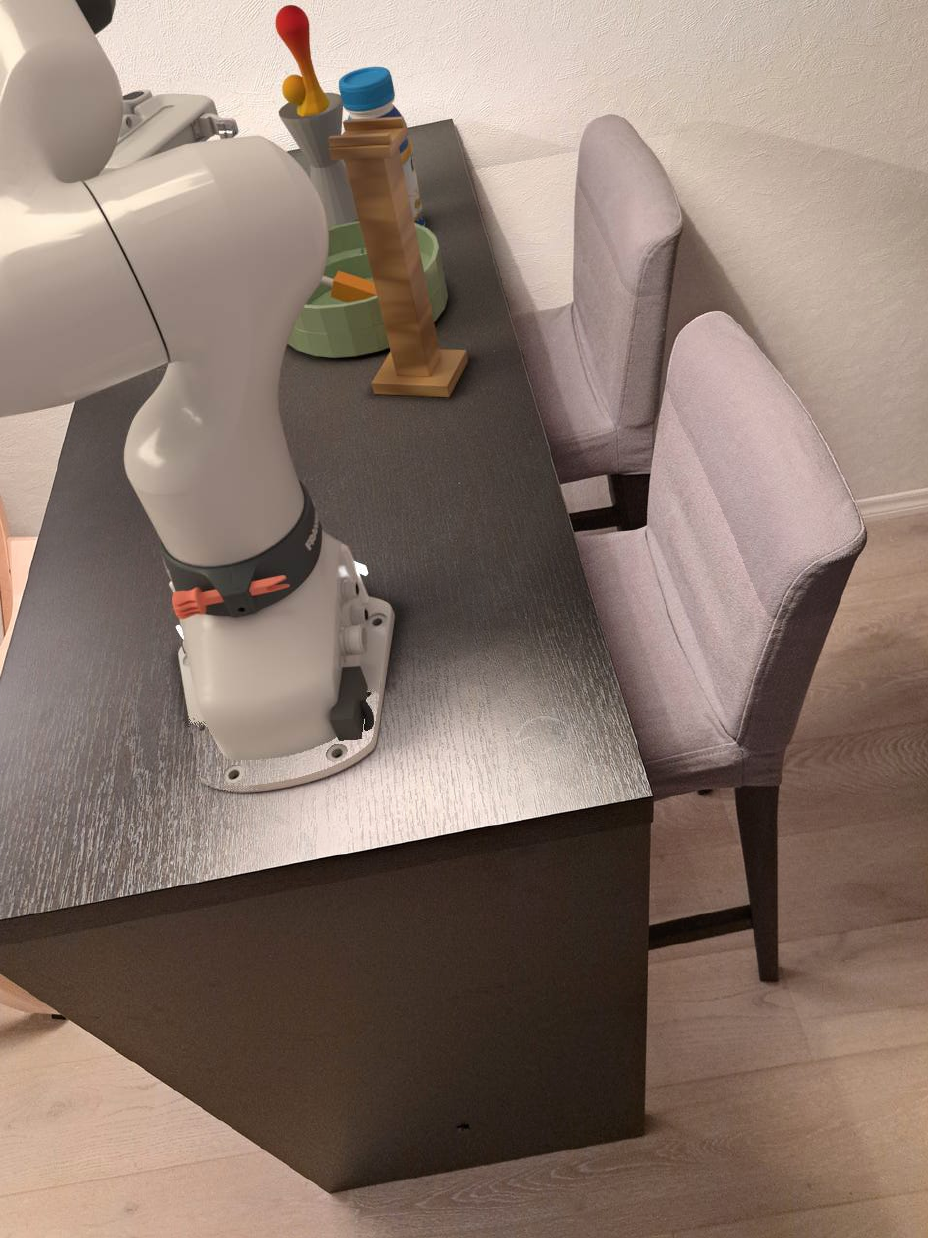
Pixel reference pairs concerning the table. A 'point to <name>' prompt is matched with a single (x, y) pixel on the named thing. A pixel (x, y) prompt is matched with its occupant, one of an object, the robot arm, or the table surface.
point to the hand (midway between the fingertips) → (216, 145)
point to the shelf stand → (395, 260)
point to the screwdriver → (349, 287)
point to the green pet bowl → (359, 323)
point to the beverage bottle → (373, 99)
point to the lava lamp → (314, 119)
